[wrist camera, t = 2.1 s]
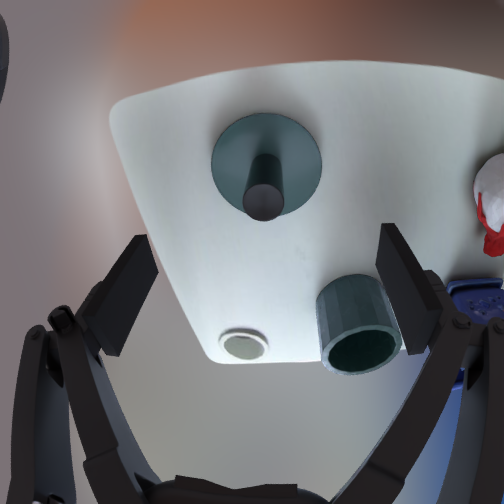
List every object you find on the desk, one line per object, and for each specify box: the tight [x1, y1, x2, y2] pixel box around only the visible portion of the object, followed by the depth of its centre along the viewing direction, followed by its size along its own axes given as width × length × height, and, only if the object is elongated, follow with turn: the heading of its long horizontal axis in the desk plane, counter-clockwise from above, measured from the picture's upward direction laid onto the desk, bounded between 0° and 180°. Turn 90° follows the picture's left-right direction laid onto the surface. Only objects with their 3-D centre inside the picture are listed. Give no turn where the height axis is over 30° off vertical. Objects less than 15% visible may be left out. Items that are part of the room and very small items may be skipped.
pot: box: [316, 275, 402, 375], centre depth 34 cm, size 10×10×8 cm
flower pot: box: [446, 278, 504, 390], centre depth 32 cm, size 13×13×12 cm
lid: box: [211, 113, 322, 221], centre depth 25 cm, size 11×11×9 cm
